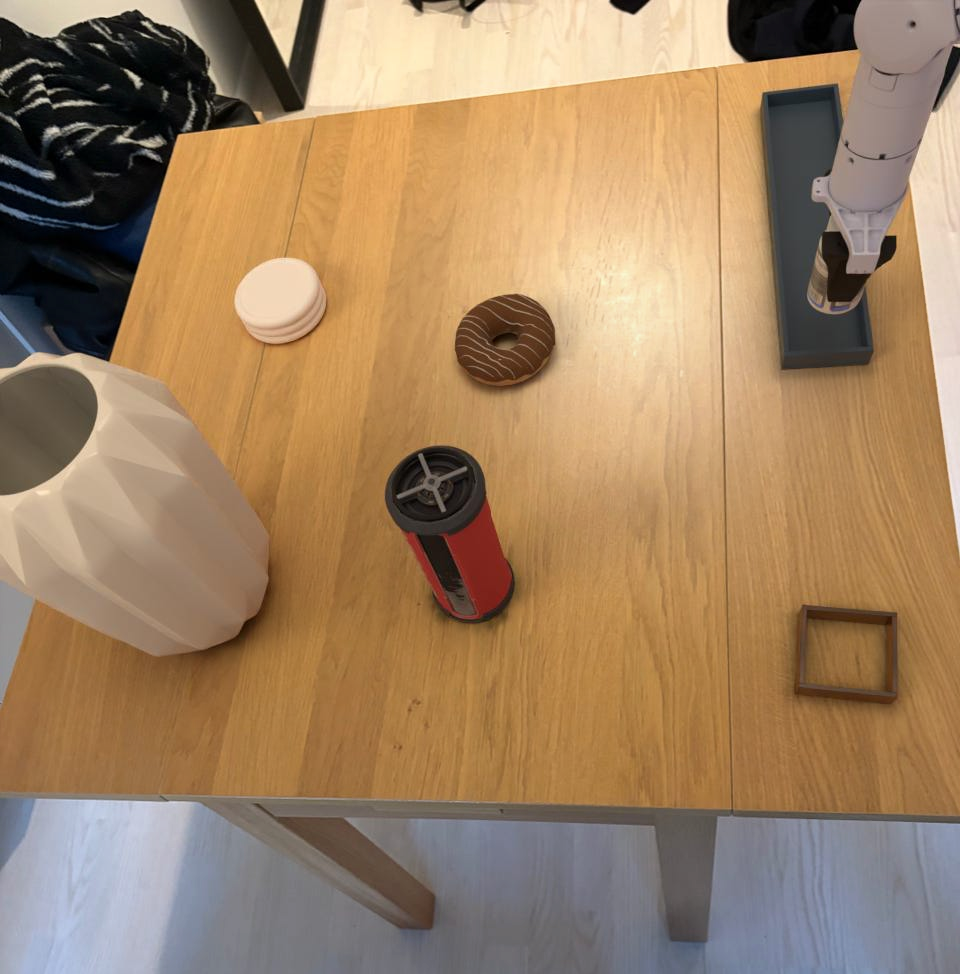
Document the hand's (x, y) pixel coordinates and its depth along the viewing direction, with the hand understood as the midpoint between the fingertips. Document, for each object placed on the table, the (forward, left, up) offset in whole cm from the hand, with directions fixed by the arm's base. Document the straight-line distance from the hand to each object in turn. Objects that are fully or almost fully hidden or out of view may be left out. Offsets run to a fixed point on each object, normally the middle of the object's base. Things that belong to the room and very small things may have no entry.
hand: (840, 275), depth 73 cm
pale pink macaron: (+53, -25, -8) cm, 59 cm away
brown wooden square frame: (+10, +32, -8) cm, 34 cm away
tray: (-4, -15, -8) cm, 17 cm away
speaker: (+39, +16, -8) cm, 43 cm away
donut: (+30, -10, -8) cm, 32 cm away
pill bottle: (0, 0, -3) cm, 3 cm away
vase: (+65, +9, -8) cm, 66 cm away
